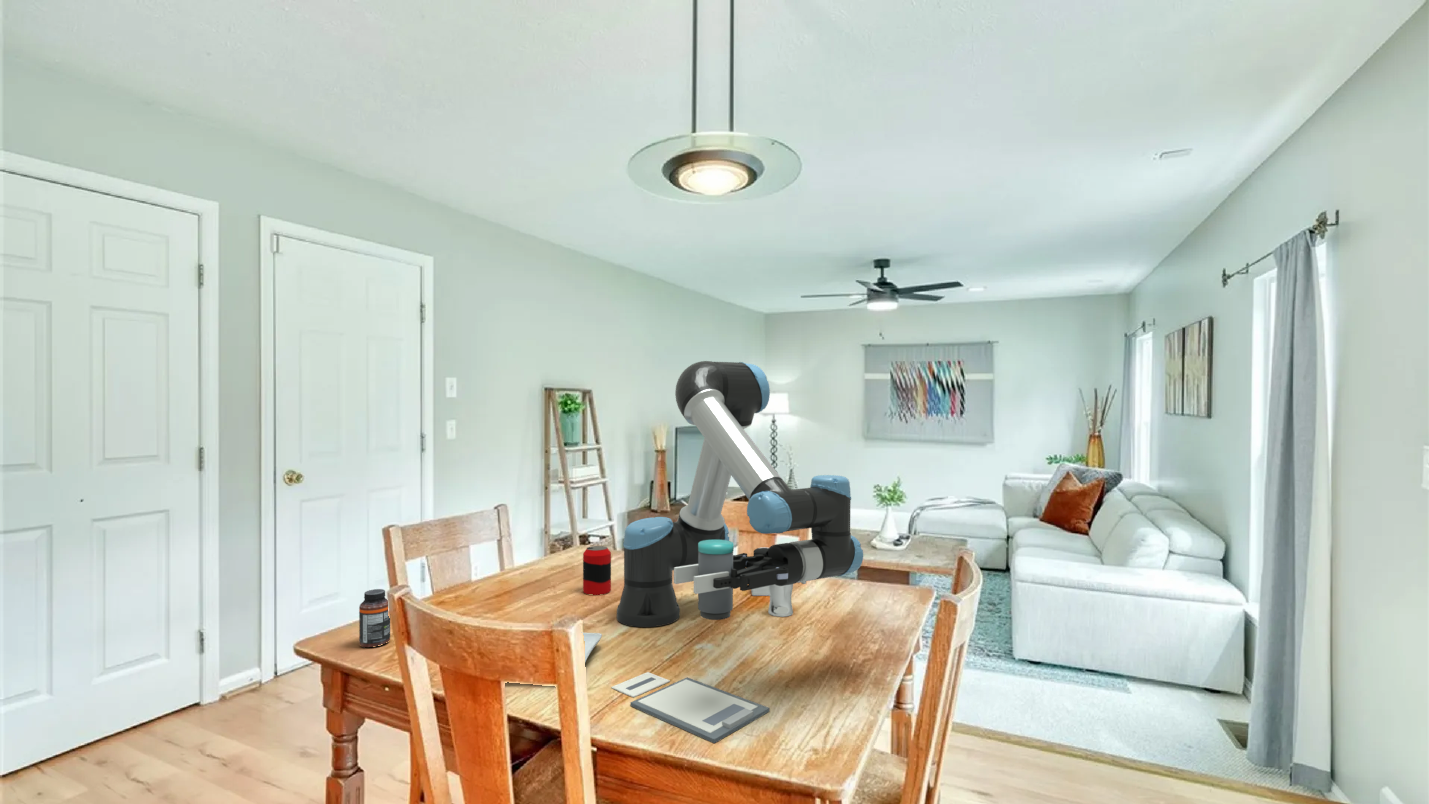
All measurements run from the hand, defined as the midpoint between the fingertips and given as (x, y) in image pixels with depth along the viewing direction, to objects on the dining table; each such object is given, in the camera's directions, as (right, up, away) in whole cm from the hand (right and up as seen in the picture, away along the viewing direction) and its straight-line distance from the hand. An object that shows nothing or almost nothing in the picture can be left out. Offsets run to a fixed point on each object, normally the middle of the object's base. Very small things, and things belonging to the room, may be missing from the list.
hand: (684, 580), depth 111 cm
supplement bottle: (-68, -22, +31) cm, 78 cm away
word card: (-8, -22, +10) cm, 26 cm away
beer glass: (+21, -22, +52) cm, 61 cm away
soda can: (-27, -23, +71) cm, 80 cm away
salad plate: (-30, -23, +20) cm, 42 cm away
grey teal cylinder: (+5, -7, +3) cm, 9 cm away
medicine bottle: (+19, -23, +71) cm, 77 cm away
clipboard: (+2, -22, +1) cm, 22 cm away
